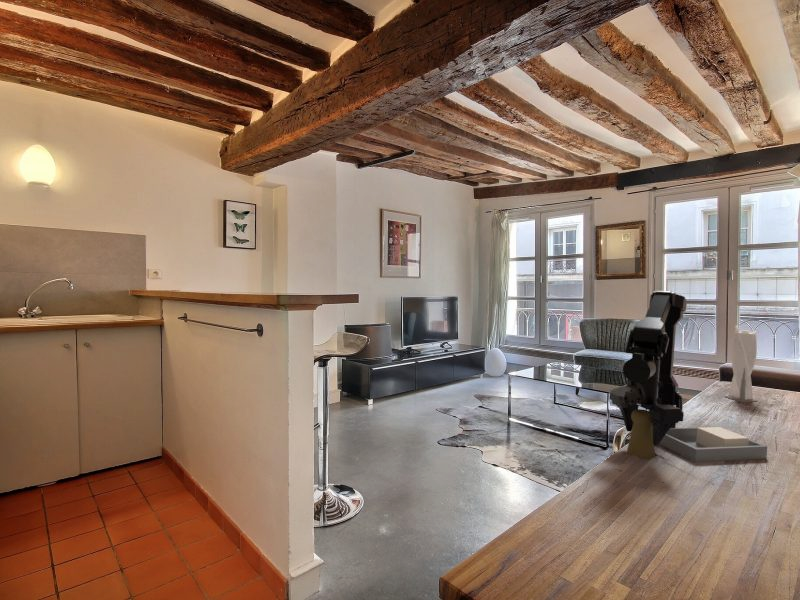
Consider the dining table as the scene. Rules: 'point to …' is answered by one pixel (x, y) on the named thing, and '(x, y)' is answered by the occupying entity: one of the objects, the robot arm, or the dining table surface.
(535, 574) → the dining table surface
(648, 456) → the olive tall rounded piece
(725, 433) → the cream beveled block
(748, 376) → the skyscraper
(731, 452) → the tray
